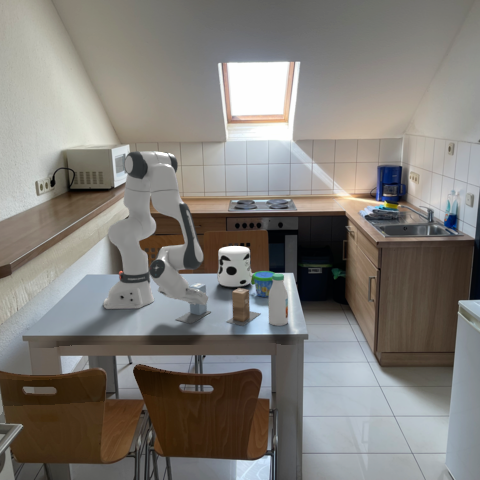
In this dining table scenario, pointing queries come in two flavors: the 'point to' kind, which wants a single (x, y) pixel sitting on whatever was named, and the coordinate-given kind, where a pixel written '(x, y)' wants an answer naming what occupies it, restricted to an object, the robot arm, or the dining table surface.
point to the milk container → (234, 267)
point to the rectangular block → (198, 308)
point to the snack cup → (262, 282)
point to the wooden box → (240, 304)
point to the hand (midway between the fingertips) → (193, 302)
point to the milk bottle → (278, 301)
